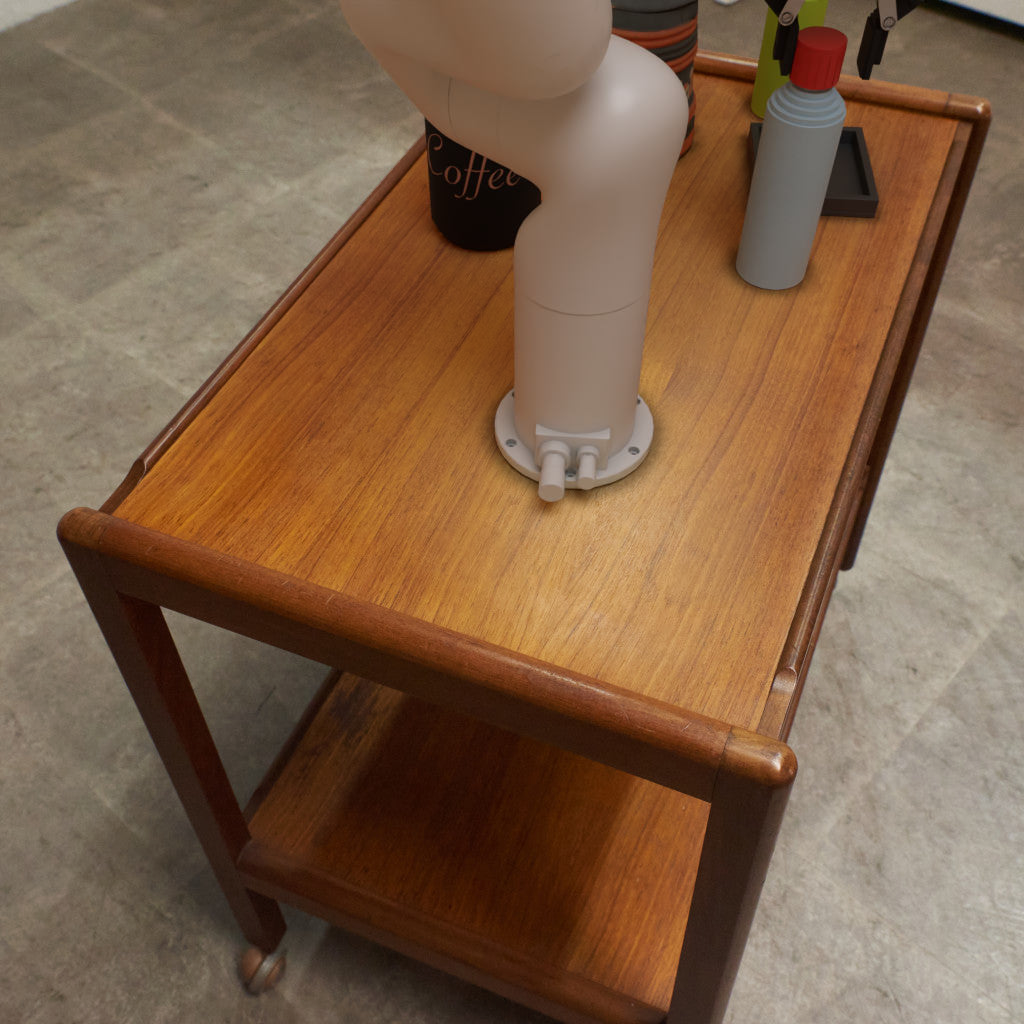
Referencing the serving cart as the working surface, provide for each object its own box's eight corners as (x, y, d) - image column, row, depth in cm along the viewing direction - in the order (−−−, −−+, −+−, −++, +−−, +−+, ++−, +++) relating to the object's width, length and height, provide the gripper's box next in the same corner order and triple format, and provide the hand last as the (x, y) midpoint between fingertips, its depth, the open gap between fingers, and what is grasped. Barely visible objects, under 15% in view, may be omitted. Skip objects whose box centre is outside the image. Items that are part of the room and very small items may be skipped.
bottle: (808, 292, 97) (867, 68, 81) (737, 288, 97) (781, 64, 81) (801, 250, 101) (856, 29, 85) (734, 246, 101) (775, 26, 85)
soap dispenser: (812, 97, 119) (855, -96, 104) (796, 127, 115) (838, -70, 100) (761, 87, 121) (796, -105, 106) (744, 115, 117) (777, -80, 102)
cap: (784, 85, 84) (792, 44, 82) (792, 63, 87) (801, 22, 84) (834, 94, 83) (844, 52, 81) (841, 71, 86) (851, 30, 83)
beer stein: (498, 148, 113) (495, -50, 98) (546, 84, 122) (551, -107, 106) (671, 185, 108) (696, -18, 93) (708, 115, 117) (737, -80, 102)
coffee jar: (412, 239, 102) (396, 56, 88) (462, 182, 108) (454, 3, 95) (512, 267, 99) (512, 82, 86) (558, 208, 105) (564, 27, 92)
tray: (874, 218, 104) (879, 200, 103) (754, 212, 105) (758, 194, 103) (857, 144, 113) (862, 127, 112) (747, 139, 114) (750, 122, 112)
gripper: (755, -176, 70) (715, 87, 84) (1024, -167, 69) (939, 99, 82) (751, -212, 75) (714, 43, 88) (1002, -204, 73) (925, 53, 87)
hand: (823, 67), depth 85 cm, fingers open, 5 cm apart
